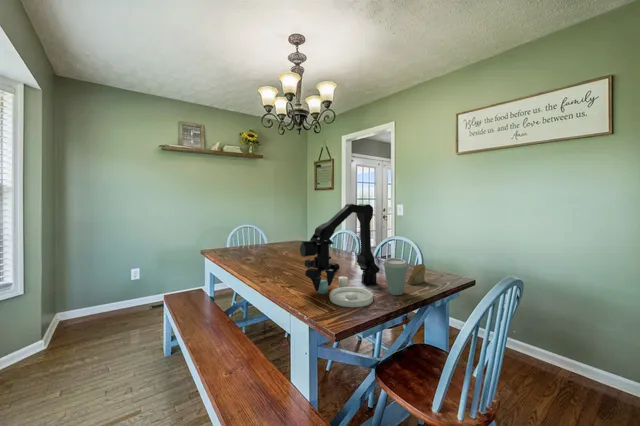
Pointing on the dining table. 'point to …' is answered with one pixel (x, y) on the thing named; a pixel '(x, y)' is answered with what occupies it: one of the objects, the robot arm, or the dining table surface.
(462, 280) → the dining table surface
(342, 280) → the cream bead
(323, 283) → the teal bead
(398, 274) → the disposable coffee cup
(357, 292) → the groove dish
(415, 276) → the brown bread wedge
